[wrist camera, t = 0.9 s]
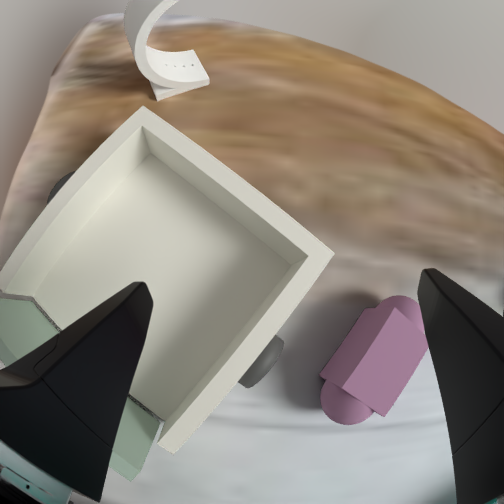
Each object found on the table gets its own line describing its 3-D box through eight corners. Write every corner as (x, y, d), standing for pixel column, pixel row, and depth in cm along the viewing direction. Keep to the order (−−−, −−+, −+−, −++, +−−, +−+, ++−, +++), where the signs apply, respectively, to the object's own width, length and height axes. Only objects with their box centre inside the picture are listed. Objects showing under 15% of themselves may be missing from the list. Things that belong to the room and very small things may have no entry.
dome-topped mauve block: (340, 423, 21) (365, 442, 17) (300, 397, 21) (320, 415, 17) (411, 316, 24) (444, 316, 20) (378, 286, 24) (409, 280, 20)
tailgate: (152, 431, 19) (130, 481, 11) (25, 310, 19) (-36, 307, 11) (160, 422, 19) (140, 471, 12) (31, 301, 19) (-29, 294, 12)
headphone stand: (209, 84, 25) (216, -23, 14) (146, 105, 24) (122, -1, 12) (193, 54, 26) (194, -45, 14) (134, 73, 25) (113, -26, 13)
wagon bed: (194, 436, 20) (191, 466, 15) (21, 276, 20) (-14, 268, 15) (322, 275, 23) (350, 266, 18) (142, 133, 23) (131, 97, 19)
